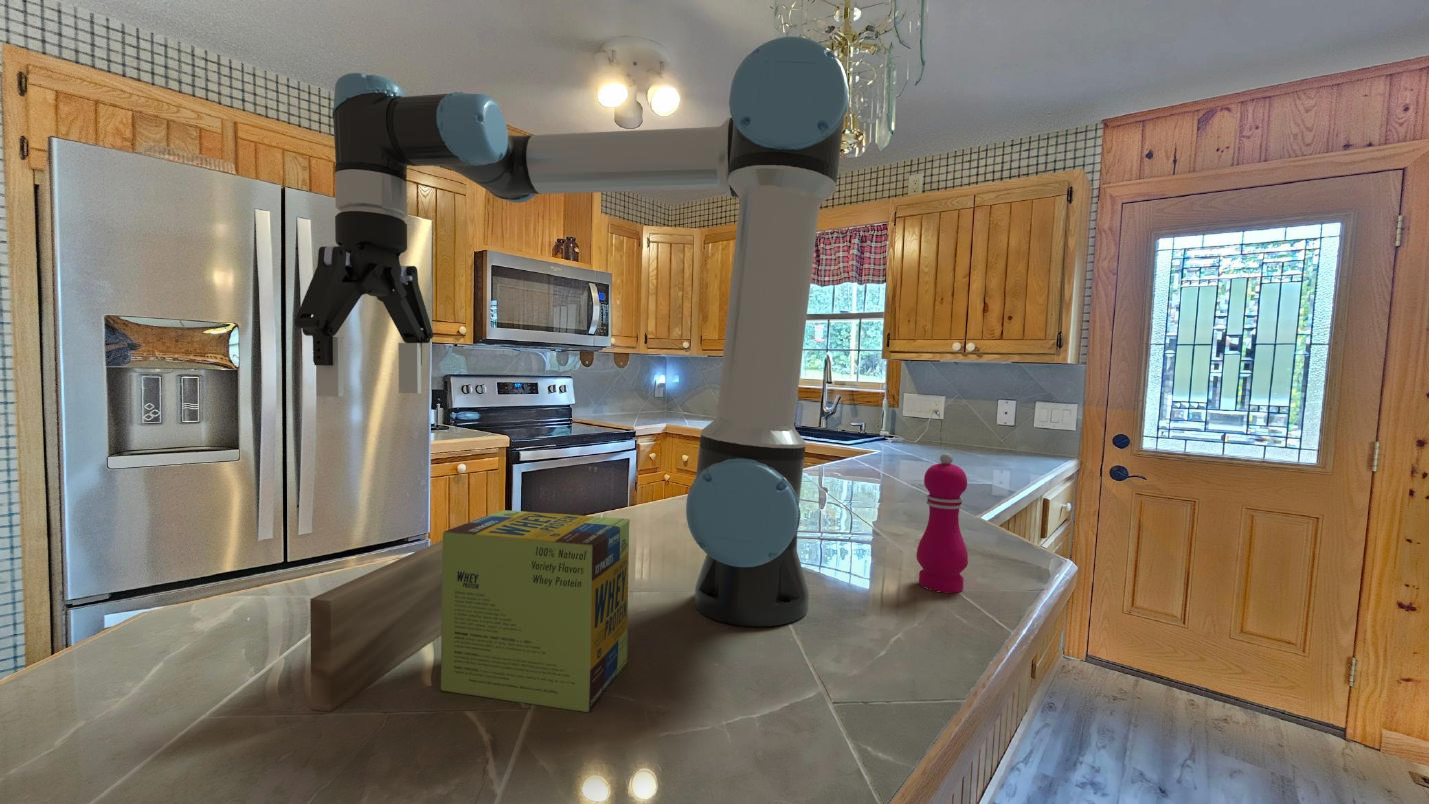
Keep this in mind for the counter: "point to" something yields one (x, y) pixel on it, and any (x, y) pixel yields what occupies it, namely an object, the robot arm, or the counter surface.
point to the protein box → (535, 607)
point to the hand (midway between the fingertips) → (373, 394)
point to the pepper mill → (943, 529)
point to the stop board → (373, 625)
